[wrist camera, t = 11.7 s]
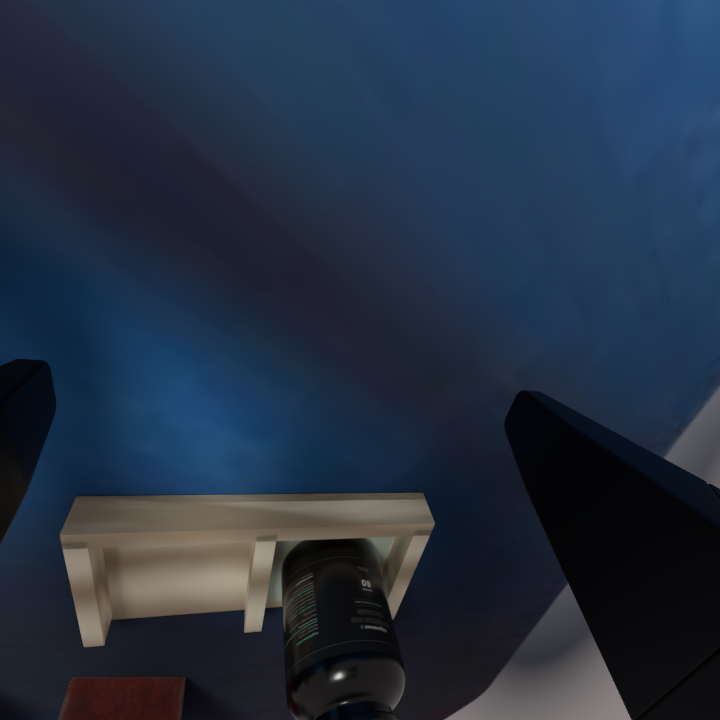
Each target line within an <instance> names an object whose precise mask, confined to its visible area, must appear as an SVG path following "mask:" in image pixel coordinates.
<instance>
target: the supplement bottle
mask: <svg viewBox="0 0 720 720" xmlns="http://www.w3.org/2000/svg"><path fill="white" fill-rule="evenodd" d="M281 588H282V611H283V634H284V656H285V679H286V696H287V705H288V709H289V711H290V713H291V715H292V717H293V718H294V719H295V720H398V717H397V716H396V715H395V714H393V713H392V710H393V709H394V708H395V706H396V705H397V704H398V702H399V701H400V699H401V697H402V694H403V691H404V687H405V670H404V665H403V661H402V657H401V653H400V649H399V645H398V641H397V636H396V632H395V628H394V624H393V620H392V616H391V612H390V608H389V604H388V600H387V596H386V592H385V588H384V583H383V579H382V575H381V571H380V567H379V564H378V560H377V556H376V553H375V550H374V548H373V546H372V545H371V544H370V543H369V542H368V541H367V540H366V539H365V538H348V539H322V540H303V541H301V542H300V543H298V544H297V545H296V546H295V547H293V548H292V549H291V550H290V552H289V553H288V554H287V556H286V557H285V559H284V561H283V564H282V568H281Z"/></svg>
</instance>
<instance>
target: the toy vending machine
mask: <svg viewBox="0 0 720 720" xmlns="http://www.w3.org/2000/svg"><path fill="white" fill-rule="evenodd" d="M185 684H186V677H73V678H71V679H70V682H69V685H68V688H67V692H66V695H65V698H64V701H63V705H62V708H61V711H60V714H59V717H58V720H181V717H182V709H183V700H184V692H185Z"/></svg>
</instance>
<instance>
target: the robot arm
mask: <svg viewBox="0 0 720 720" xmlns="http://www.w3.org/2000/svg"><path fill="white" fill-rule="evenodd" d="M55 411H56V397H55V391H54V386H53V380H52V374H51V369H50V367H49V365H48V363H47V362H45V361H43V360H30V359H16V360H13V361H11V362H9V363H6V364H4V365H2V366H0V544H1V542H2V541H3V539H4V537H5V535H6V533H7V531H8V529H9V527H10V525H11V523H12V521H13V519H14V517H15V515H16V513H17V511H18V509H19V507H20V505H21V503H22V501H23V499H24V497H25V495H26V492H27V490H28V487H29V485H30V482H31V479H32V477H33V474H34V471H35V468H36V465H37V463H38V460H39V457H40V454H41V451H42V449H43V446H44V443H45V440H46V438H47V435H48V432H49V429H50V426H51V424H52V421H53V418H54V415H55ZM504 427H505V432H506V435H507V438H508V441H509V443H510V446H511V449H512V452H513V455H514V458H515V461H516V464H517V467H518V469H519V472H520V475H521V478H522V481H523V484H524V486H525V489H526V491H527V494H528V496H529V498H530V501H531V503H532V505H533V507H534V509H535V512H536V514H537V516H538V518H539V520H540V522H541V525H542V527H543V529H544V531H545V533H546V535H547V538H548V540H549V542H550V544H551V546H552V548H553V551H554V553H555V555H556V557H557V559H558V561H559V564H560V566H561V568H562V570H563V572H564V574H565V577H566V579H567V581H568V583H569V585H570V587H571V589H572V592H573V594H574V596H575V598H576V600H577V603H578V605H579V607H580V609H581V611H582V613H583V616H584V618H585V620H586V622H587V624H588V627H589V629H590V631H591V633H592V635H593V637H594V639H595V642H596V644H597V646H598V648H599V650H600V652H601V655H602V657H603V659H604V661H605V663H606V666H607V668H608V670H609V672H610V674H611V676H612V678H613V681H614V683H615V685H616V687H617V689H618V691H619V694H620V696H621V698H622V700H623V702H624V705H625V707H626V709H627V711H628V713H629V715H630V717H631V719H632V720H720V489H719V488H717V487H715V486H713V485H712V484H707V483H706V481H704V480H702V479H700V478H699V477H696V476H695V475H693V474H691V473H689V472H687V471H686V470H684V469H682V468H680V467H678V466H676V465H674V464H673V463H671V462H669V461H667V460H665V459H663V458H662V457H660V456H658V455H656V454H654V453H652V452H650V451H649V450H647V449H645V448H643V447H641V446H639V445H637V444H636V443H634V442H632V441H630V440H628V439H626V438H624V437H623V436H621V435H619V434H617V433H615V432H613V431H612V430H610V429H608V428H606V427H604V426H602V425H600V424H599V423H597V422H595V421H593V420H591V419H589V418H587V417H586V416H584V415H582V414H580V413H578V412H576V411H574V410H573V409H571V408H569V407H567V406H565V405H563V404H562V403H560V402H558V401H556V400H554V399H552V398H550V397H549V396H547V395H545V394H543V393H541V392H539V391H528V390H523V391H520V392H519V393H518V394H517V395H516V397H515V399H514V401H513V404H512V406H511V408H510V410H509V412H508V414H507V416H506V419H505V423H504Z"/></svg>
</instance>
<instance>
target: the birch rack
mask: <svg viewBox="0 0 720 720" xmlns="http://www.w3.org/2000/svg"><path fill="white" fill-rule="evenodd" d="M434 525H435V522H434V519H433V517H432V514H431V512H430V509H429V507H428V504H427V502H426V499H425V497H424V494H423V493H344V494H248V495H152V496H76V498H75V501H74V503H73V505H72V508H71V510H70V512H69V515H68V517H67V519H66V522H65V524H64V526H63V528H62V531H61V533H60V539H61V544H62V548H63V553H64V558H65V562H66V567H67V572H68V576H69V581H70V586H71V590H72V595H73V600H74V604H75V609H76V613H77V618H78V623H79V627H80V632H81V637H82V641H83V646H84V647H93V646H104V644H105V641H106V637H107V633H108V629H109V626H110V622H111V620H116V619H129V618H142V617H155V616H168V615H181V614H194V613H207V612H219V611H232V610H245V620H244V633H247V632H258V631H261V630H262V624H263V618H264V612H265V608H271V607H282V588H281V568H282V564H283V561H284V559H285V557H286V556H287V554H288V553H289V552H290V550H291V549H292V548H293V547H295V546H296V545H297V544H298V543H300V542H301V541H303V540H322V539H348V538H365V539H366V540H367V541H368V542H369V543H370V544H371V545H372V546H373V548H374V550H375V553H376V556H377V560H378V564H379V567H380V571H381V575H382V579H383V583H384V588H385V592H386V596H387V600H388V604H389V608H390V612H391V616H392V619H394V617H395V615H396V613H397V611H398V608H399V606H400V604H401V601H402V599H403V597H404V594H405V592H406V590H407V587H408V585H409V583H410V580H411V578H412V576H413V574H414V571H415V569H416V567H417V564H418V562H419V560H420V557H421V555H422V553H423V550H424V548H425V546H426V543H427V541H428V539H429V537H430V534H431V532H432V530H433V527H434Z"/></svg>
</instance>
